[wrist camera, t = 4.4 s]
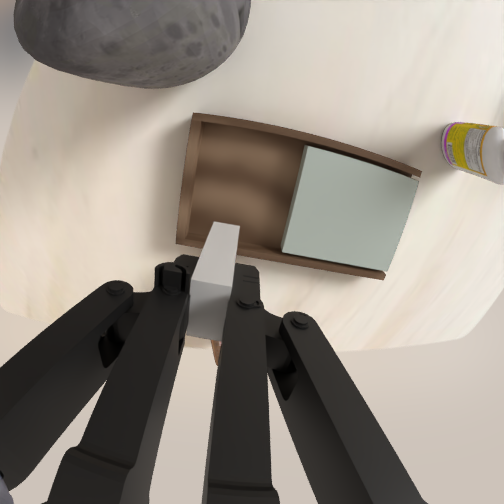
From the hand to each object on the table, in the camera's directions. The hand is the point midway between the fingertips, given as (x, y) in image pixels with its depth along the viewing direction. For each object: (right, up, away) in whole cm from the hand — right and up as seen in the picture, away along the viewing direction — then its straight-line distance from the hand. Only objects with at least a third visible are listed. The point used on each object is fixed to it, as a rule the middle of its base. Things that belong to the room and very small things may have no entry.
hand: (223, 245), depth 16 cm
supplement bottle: (+29, +14, +12) cm, 35 cm away
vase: (-6, +24, +7) cm, 26 cm away
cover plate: (+13, +5, +15) cm, 20 cm away
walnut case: (+7, +6, +15) cm, 18 cm away
